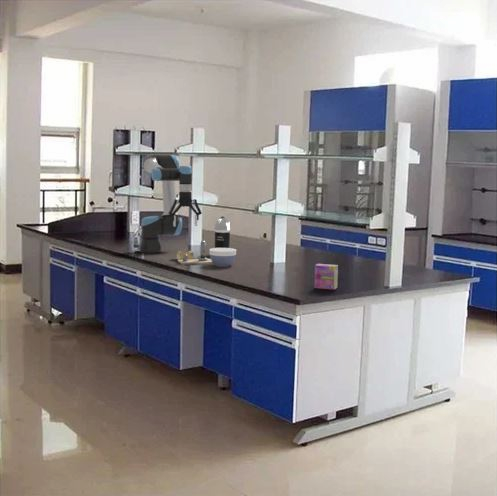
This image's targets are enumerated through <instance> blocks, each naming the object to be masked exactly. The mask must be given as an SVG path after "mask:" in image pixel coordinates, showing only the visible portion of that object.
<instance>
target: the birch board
mask: <svg viewBox="0 0 497 496" xmlns="http://www.w3.org/2000/svg"><path fill="white" fill-rule="evenodd" d="M177 262H178V263H179V264H181V265H183V266H186V265H187V266H188V265H189V266H190V265H192V264H193V265H208V264H209V265H210V264H212V265H215V264H214V263H213V262H212V260H211V258H207V261H199V258H198V259H197V258H193V259H188V261H186V262H185V261H183V260H177ZM193 265H192V266H193Z"/></svg>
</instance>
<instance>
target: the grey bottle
mask: <svg viewBox="0 0 497 496" xmlns="http://www.w3.org/2000/svg"><path fill="white" fill-rule="evenodd" d="M214 248H231V223H230V220H228V219H227V218H226V217H225V216H220V217H219V218H218V219H217V220H216V221H215V223H214Z"/></svg>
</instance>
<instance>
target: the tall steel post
mask: <svg viewBox="0 0 497 496" xmlns="http://www.w3.org/2000/svg"><path fill="white" fill-rule="evenodd" d="M206 245H207V243H206V241H205V240H201V241H200V257H198V259H199V261H207V259H208V257H207V256H206V253H207V252H206V250H207V249H206Z"/></svg>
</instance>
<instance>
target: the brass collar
mask: <svg viewBox="0 0 497 496" xmlns="http://www.w3.org/2000/svg"><path fill="white" fill-rule="evenodd" d="M183 254H188V259H194V252H193V251H191V250H177V251H176V260H177V261H178V260H183Z"/></svg>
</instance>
